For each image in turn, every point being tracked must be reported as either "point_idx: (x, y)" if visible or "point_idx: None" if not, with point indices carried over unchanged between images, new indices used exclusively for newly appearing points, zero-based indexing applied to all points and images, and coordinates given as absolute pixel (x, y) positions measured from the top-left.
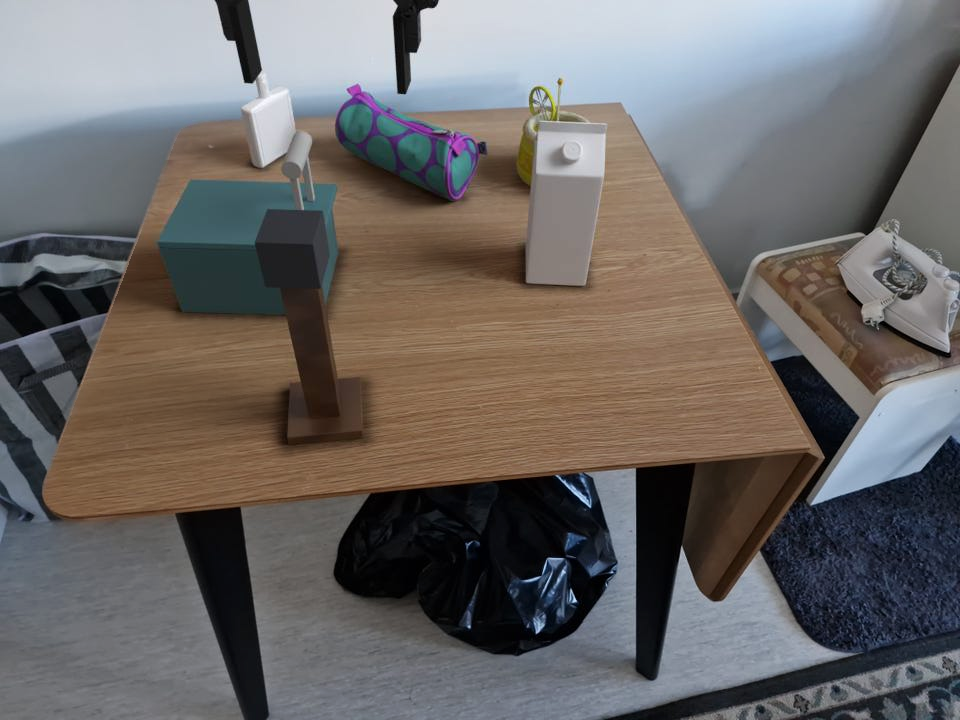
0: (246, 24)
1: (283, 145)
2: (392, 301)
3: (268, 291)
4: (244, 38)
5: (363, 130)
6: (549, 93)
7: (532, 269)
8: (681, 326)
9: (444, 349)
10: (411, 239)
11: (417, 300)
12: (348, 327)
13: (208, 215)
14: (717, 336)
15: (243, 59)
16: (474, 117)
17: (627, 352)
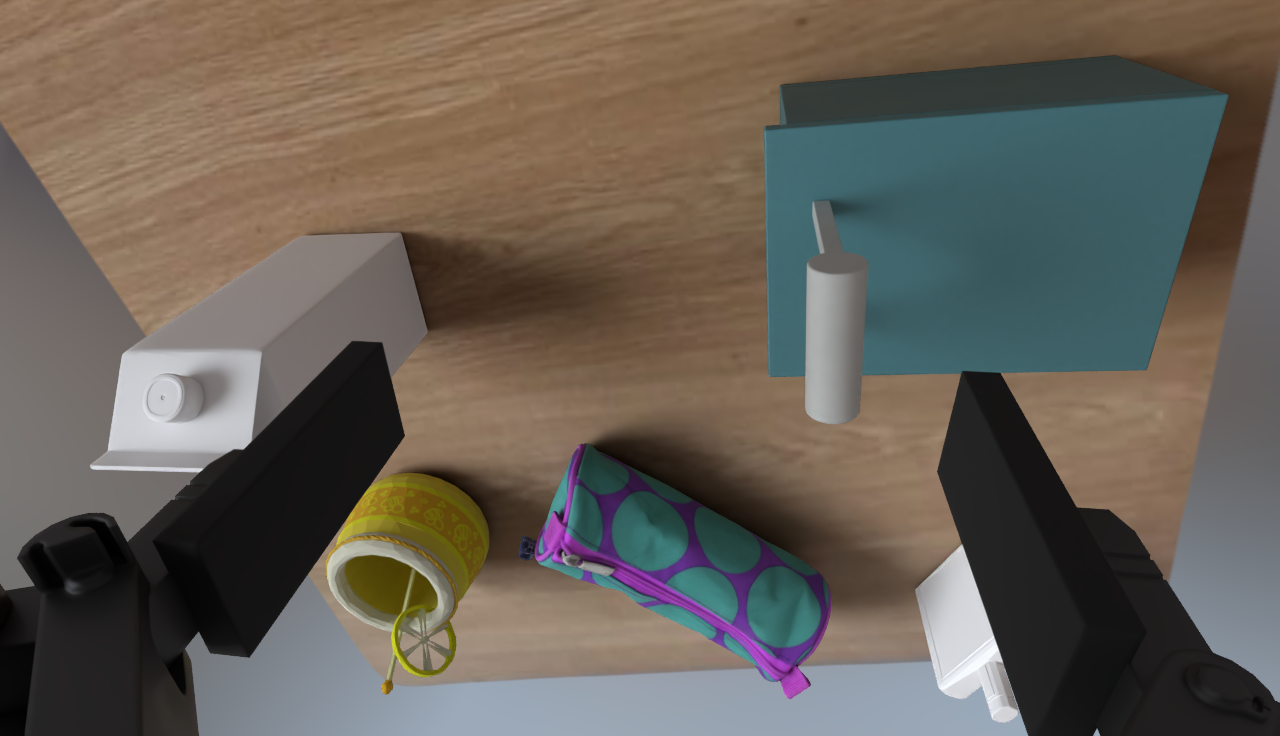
0: (1015, 581)
1: (942, 579)
2: (642, 152)
3: (902, 87)
4: (1016, 505)
5: (766, 588)
6: (397, 656)
7: (377, 245)
8: (113, 145)
9: (506, 14)
10: (643, 340)
11: (593, 161)
12: (717, 56)
13: (1082, 227)
14: (49, 126)
15: (1011, 431)
16: (601, 659)
17: (176, 58)
